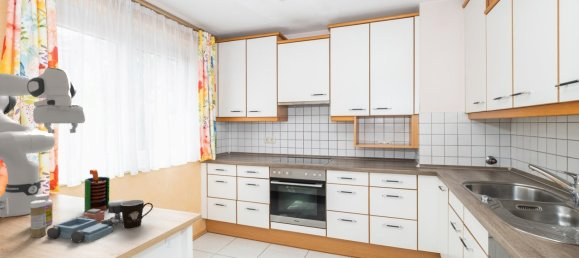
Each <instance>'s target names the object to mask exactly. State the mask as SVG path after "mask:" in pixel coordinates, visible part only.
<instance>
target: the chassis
mask: <svg viewBox="0 0 579 258" xmlns="http://www.w3.org/2000/svg"><path fill="white" fill-rule="evenodd" d="M113 226H114V225H113V222H112V220H110V218H108V219H104V220H103V221H101V223H96V220H93V219H90V218H89V217H88V216H85V217H83V216H82V217H74V218H72V219H69V220H66V221H63V222H60V223H56V224H54V225H53V226H52V227H50V228H48V229H47V231H46V236H47V237H48V239H51V240H53V239H55V238H63V239H69V240H71V241H72V242H73V243H75V244H77V243H79V242H81V241H82V242H87V243H89V242H92V241H94V240H97V239H98V238H101V237H103V236H106V235H109V234H110V233H113V232H114V231H113V229H114V227H113Z"/></svg>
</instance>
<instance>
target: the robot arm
mask: <svg viewBox="0 0 579 258" xmlns="http://www.w3.org/2000/svg"><path fill="white" fill-rule="evenodd" d="M68 73H69V72H68V71H67V70H65V69H62V68H58V67H57V68H56V67H47V68H45V69H44V71H43V73H41V74H40V75H38V76H36V77H32V78H26V77H23V76H19V75H16V74H11V73H4V72H3V73H2V72H0V160H1V161H2V162H3V163H4V165H5V168H6V171H7V172H6V173H7V184H6V185H4V188H5V190H4V192H3V193H2V194H1V195H0V217H2V218H8V217H17V216H24V215H31V208H30V203H31V202H33V201H35V196H36V195H39V194H44V191H43V190H42V189H41V187H42V186H41V185H42V183H41V180H40V165H39V164H38V163H36V162H34V161H31V160H29V159H28V157H27V155H29V154H37V153H44V152H46V151H47V152H48V151H50V150H52V149H53V148H54V146H55V145H56V138H55V136H54V134H55V129H54V128H52V124H71V126H72V127H71V128H70V129H69V133H70V134H75V133H77V128H78V126H79V124H83V123H85V121H86V116H85V113H84V110H83V109H84V108H83V106H81V105H80V104H76V103H75V104H74V103H73V98H74V97H75V96H76V94H77V88H76V86H75V85H74V84H73V82H71V79H70V76H69V74H68ZM20 96H32V97H33V98H38V99H42V100H37V101H35V102H33V106H34V108H33V111H32V112H33V113H32V115H33V116H32V117H33V122H34V123H35V124H39V125H40V124H43V125H44V127H45V129H46V130H47V131H44V130H40V129H36V128H33V127H30V126H27V125H24V124H21V123H19V122H17V121H16V120H13V119H12V118H10V117H9V116H8V115H7V114H9V113H10V112H11V111H12V110H13V109H14V108H15V107H16V105H17V98H16V97H20Z"/></svg>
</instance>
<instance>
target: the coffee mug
mask: <svg viewBox="0 0 579 258" xmlns="http://www.w3.org/2000/svg"><path fill="white" fill-rule="evenodd" d="M147 205H150V206H151V208H150V209H149V210H148V211H147V212H146V213H144V214H143V211H144V209H145V207H146V206H147ZM153 208H154V205H153V204H152V203H151V202H146V203H145V201H144V200H143V199H132V200H131V199H130V200H126V201H125V202H123V203H121V210H122V212H121V215H122V217H123V223H122V224H123V228H124V229H125V230H131V229H136V228H138V227H141V225H142V220H143V218H144V217H145V216H147V215H148V214H149V213H150V212H151V211H152V210H153Z"/></svg>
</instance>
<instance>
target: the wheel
mask: <svg viewBox="0 0 579 258" xmlns="http://www.w3.org/2000/svg"><path fill="white" fill-rule="evenodd" d="M125 201H127V199H115V200H114V199H113V200H111V201H109V205H108V208H107V209H108V210H107V211H108V212H107V213H109V214H115V213H120V212H121V213H122V210H121V203H123V202H125Z"/></svg>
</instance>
